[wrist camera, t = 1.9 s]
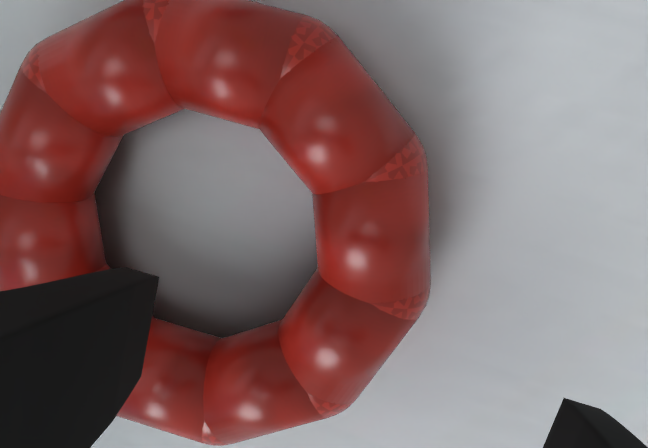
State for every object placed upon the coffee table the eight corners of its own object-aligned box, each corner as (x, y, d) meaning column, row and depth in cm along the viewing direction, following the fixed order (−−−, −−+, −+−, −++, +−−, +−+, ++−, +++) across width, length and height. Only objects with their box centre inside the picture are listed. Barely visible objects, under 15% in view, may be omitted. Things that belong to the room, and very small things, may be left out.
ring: (371, 452, 19) (363, 518, 16) (2, 336, 20) (-65, 382, 17) (495, 65, 15) (512, 67, 13) (40, -54, 16) (-35, -74, 13)
